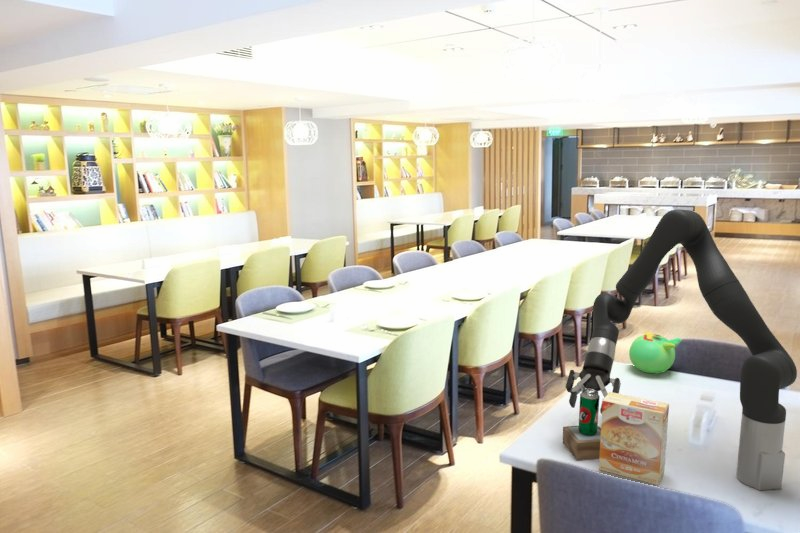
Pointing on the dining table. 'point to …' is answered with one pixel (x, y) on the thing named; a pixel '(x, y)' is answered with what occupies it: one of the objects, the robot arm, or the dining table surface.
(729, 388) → the dining table surface
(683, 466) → the dining table surface
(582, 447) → the walnut plinth
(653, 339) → the toy bird
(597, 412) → the soda can
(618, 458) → the coffeecake box
